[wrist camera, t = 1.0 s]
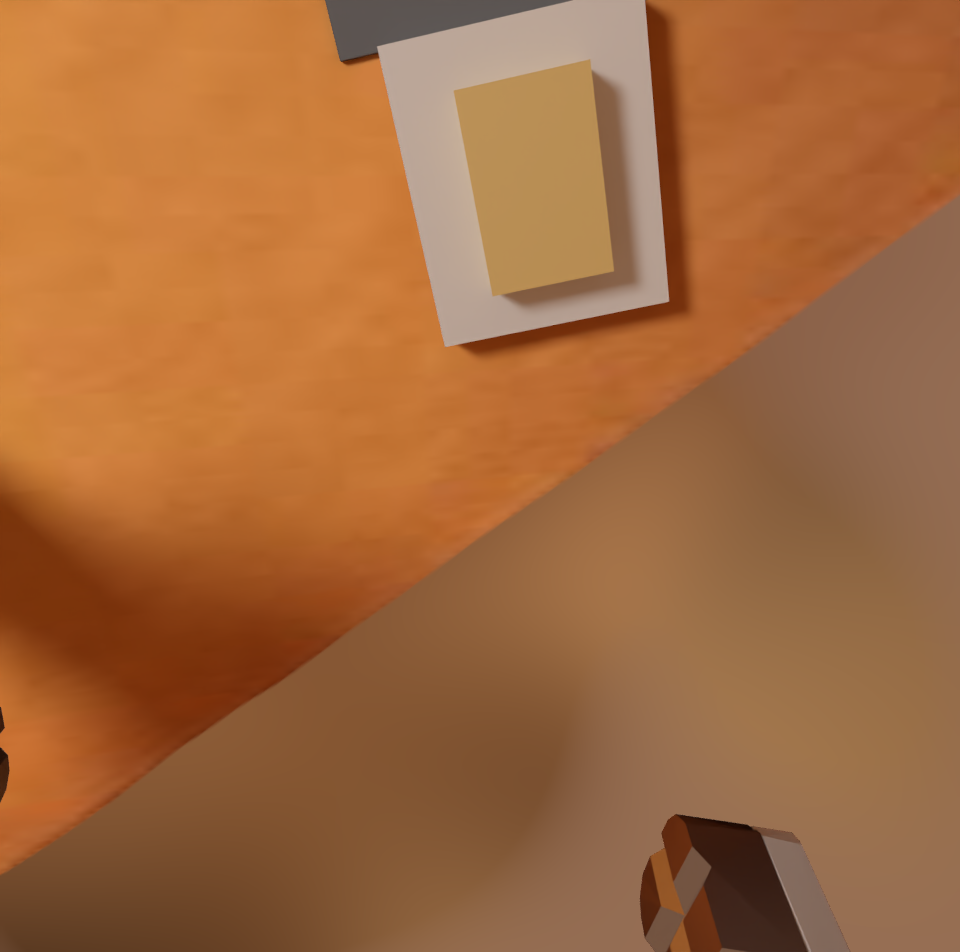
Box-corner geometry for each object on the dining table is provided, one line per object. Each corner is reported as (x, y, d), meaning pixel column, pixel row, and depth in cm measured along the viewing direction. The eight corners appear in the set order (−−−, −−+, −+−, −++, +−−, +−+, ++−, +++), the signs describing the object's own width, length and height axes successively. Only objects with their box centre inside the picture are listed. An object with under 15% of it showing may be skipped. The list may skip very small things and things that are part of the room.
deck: (446, 337, 39) (445, 347, 37) (382, 52, 33) (377, 46, 31) (659, 294, 38) (669, 301, 36) (633, -8, 32) (643, -17, 30)
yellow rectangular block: (606, 264, 35) (614, 271, 33) (491, 288, 35) (492, 296, 34) (583, 64, 31) (590, 59, 29) (454, 93, 32) (453, 90, 30)
